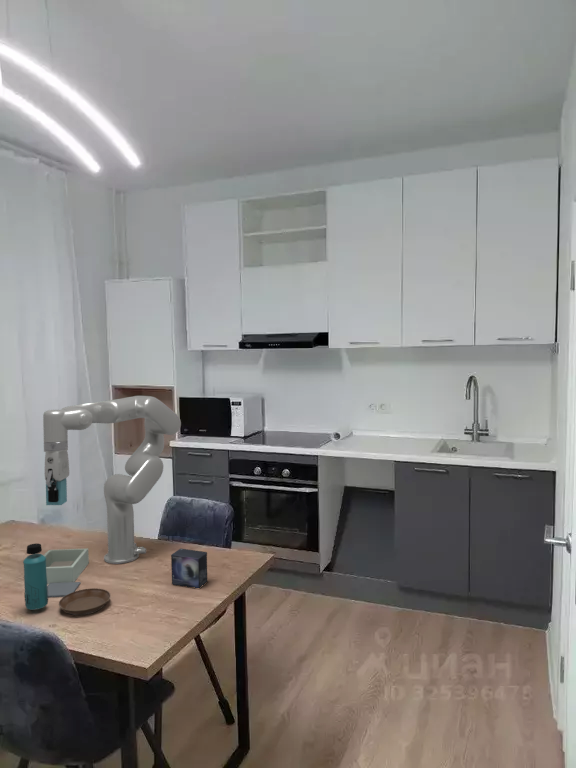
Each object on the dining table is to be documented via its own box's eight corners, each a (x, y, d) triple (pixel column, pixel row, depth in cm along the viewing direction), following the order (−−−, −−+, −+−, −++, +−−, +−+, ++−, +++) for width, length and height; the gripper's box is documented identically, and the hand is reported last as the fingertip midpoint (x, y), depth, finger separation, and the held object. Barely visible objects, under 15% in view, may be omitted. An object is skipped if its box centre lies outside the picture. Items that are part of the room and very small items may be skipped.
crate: (88, 563, 205) (88, 548, 205) (73, 583, 187) (72, 567, 187) (49, 564, 204) (49, 549, 204) (30, 584, 186) (29, 568, 186)
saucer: (64, 623, 160) (64, 614, 160) (54, 604, 172) (54, 595, 172) (116, 610, 168) (116, 601, 168) (103, 592, 180) (103, 584, 180)
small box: (170, 585, 185) (169, 554, 184) (180, 577, 191) (180, 547, 190) (198, 589, 181) (198, 558, 180) (208, 582, 187) (207, 551, 187)
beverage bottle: (53, 606, 170) (51, 542, 169) (37, 616, 164) (34, 549, 163) (36, 603, 172) (34, 540, 171) (19, 613, 166) (17, 547, 165)
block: (66, 501, 192) (66, 478, 192) (61, 505, 187) (60, 481, 187) (52, 501, 192) (51, 478, 192) (46, 505, 187) (45, 481, 187)
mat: (80, 583, 187) (80, 581, 187) (71, 596, 177) (71, 594, 177) (49, 584, 186) (49, 583, 186) (38, 597, 176) (38, 596, 176)
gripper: (57, 450, 180) (58, 506, 181) (76, 442, 197) (76, 493, 198) (33, 450, 180) (34, 506, 181) (54, 442, 197) (55, 493, 198)
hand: (56, 499), depth 189 cm, fingers closed on block, 5 cm apart
